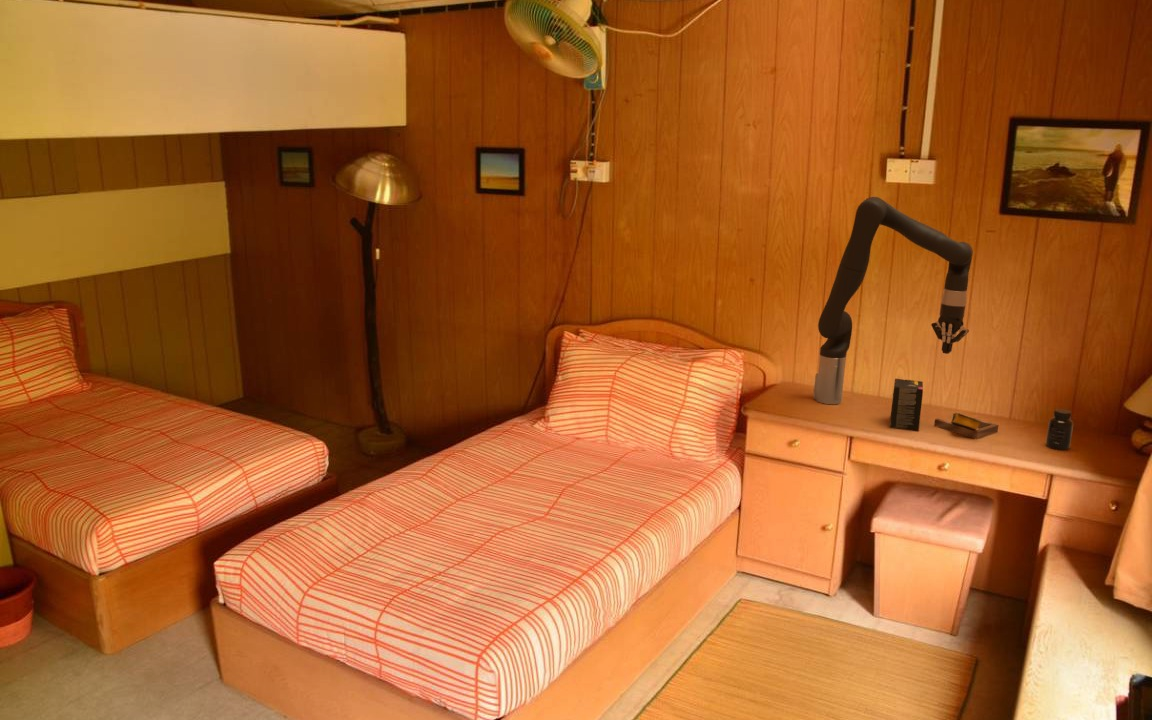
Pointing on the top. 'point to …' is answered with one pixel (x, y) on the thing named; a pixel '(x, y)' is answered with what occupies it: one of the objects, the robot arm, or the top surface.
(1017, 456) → the top surface
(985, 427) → the bay
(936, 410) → the top surface
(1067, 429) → the supplement bottle
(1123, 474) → the top surface
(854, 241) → the robot arm
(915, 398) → the tampon box
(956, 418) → the crayon box
